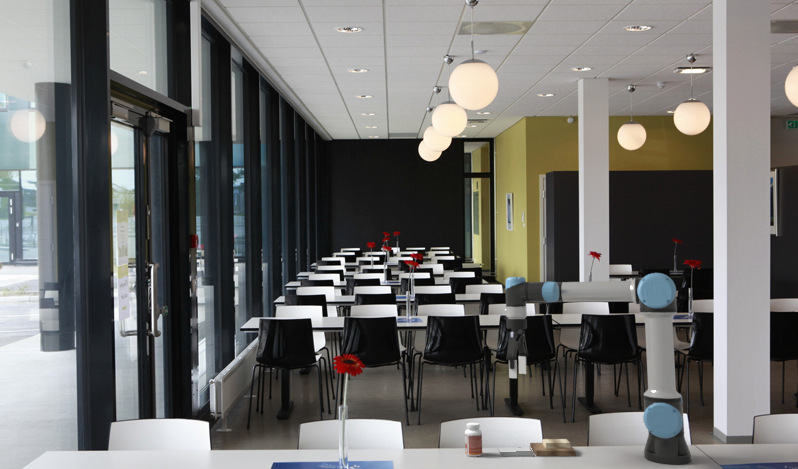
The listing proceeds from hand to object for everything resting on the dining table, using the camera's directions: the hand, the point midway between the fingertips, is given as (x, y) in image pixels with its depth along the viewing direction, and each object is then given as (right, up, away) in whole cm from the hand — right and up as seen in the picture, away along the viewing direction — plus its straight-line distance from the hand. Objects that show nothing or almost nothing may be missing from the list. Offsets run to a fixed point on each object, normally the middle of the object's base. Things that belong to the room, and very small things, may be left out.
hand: (518, 375), depth 225 cm
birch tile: (+14, -26, -1) cm, 29 cm away
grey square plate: (-1, -28, -1) cm, 28 cm away
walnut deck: (+12, -28, -1) cm, 30 cm away
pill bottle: (-17, -28, -4) cm, 33 cm away
